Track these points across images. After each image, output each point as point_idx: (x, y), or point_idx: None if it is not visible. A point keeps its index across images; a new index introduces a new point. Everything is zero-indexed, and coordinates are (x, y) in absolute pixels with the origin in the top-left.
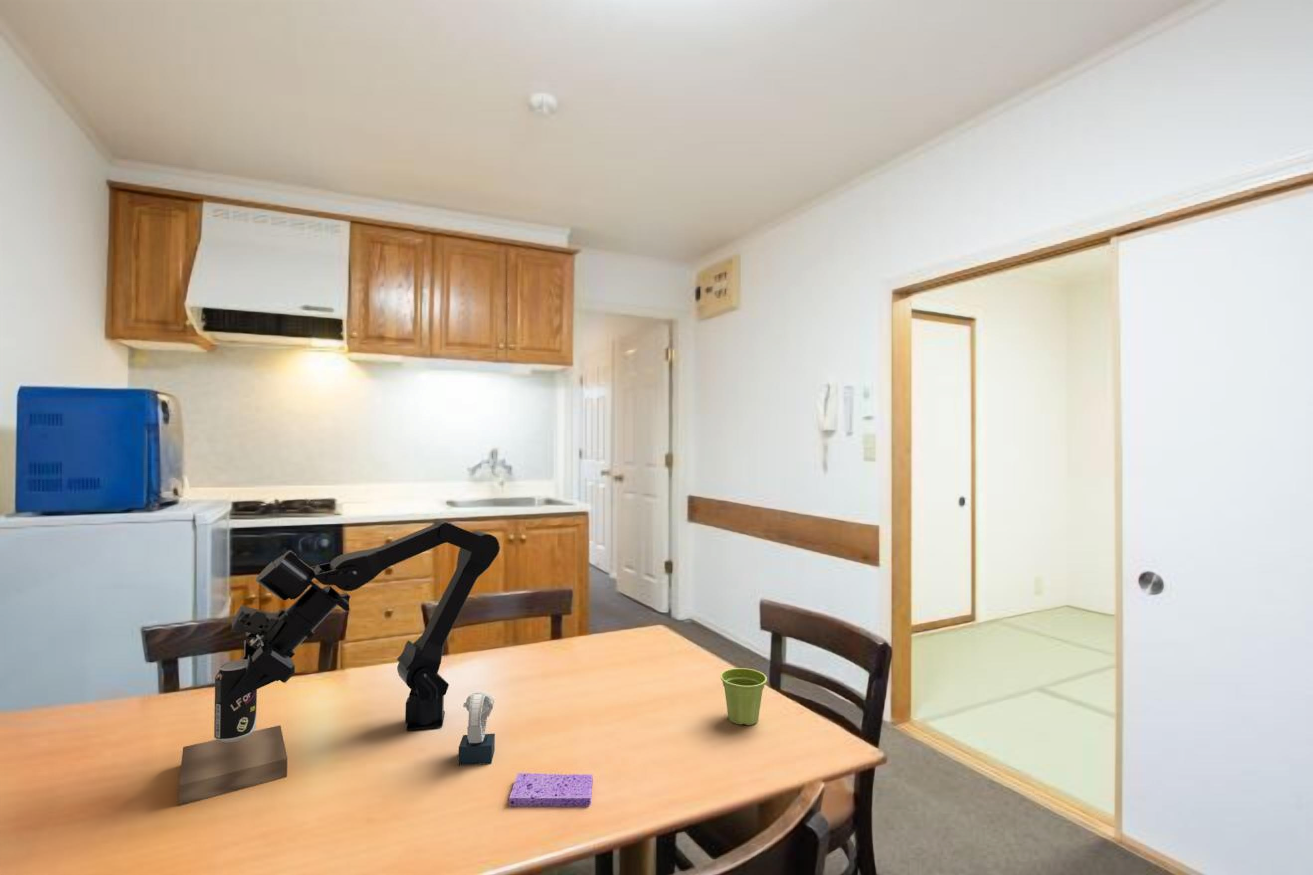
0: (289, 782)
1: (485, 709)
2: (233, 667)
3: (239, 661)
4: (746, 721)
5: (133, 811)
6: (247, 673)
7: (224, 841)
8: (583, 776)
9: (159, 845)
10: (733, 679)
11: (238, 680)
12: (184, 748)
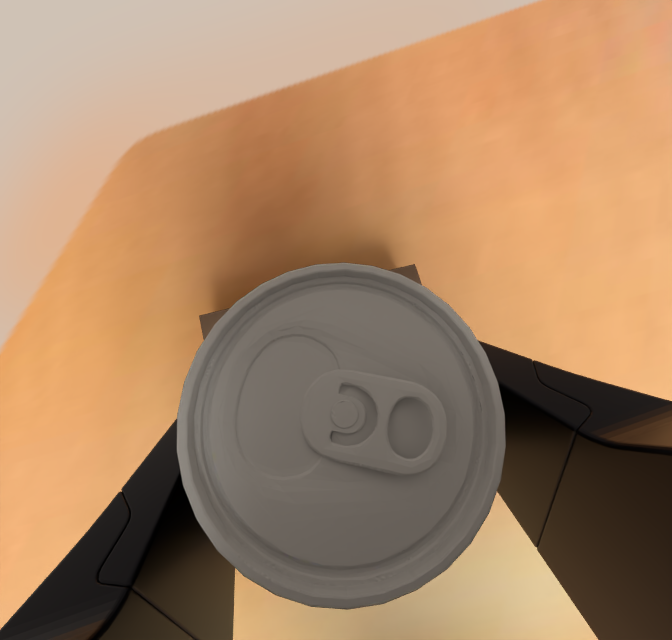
0: None
1: None
2: (287, 398)
3: (465, 411)
4: None
5: (229, 252)
6: (11, 626)
7: (9, 466)
8: None
9: (67, 339)
10: None
11: (168, 472)
12: (405, 269)
